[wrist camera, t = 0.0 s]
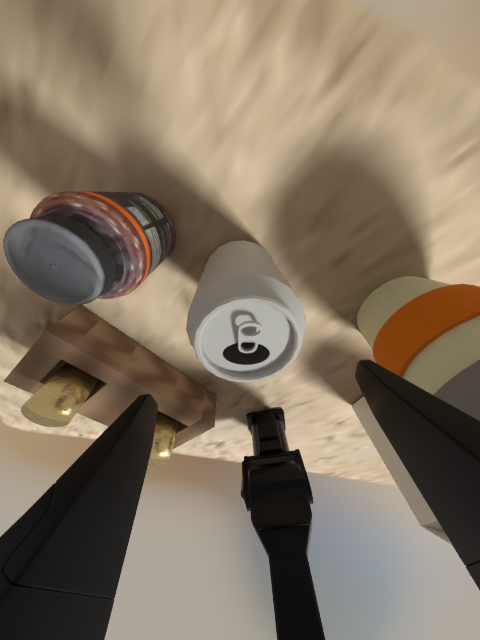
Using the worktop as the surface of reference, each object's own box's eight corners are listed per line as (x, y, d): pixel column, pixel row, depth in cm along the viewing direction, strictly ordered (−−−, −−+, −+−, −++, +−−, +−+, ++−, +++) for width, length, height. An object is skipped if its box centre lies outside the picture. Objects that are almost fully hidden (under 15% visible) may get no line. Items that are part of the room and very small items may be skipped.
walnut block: (216, 395, 32) (214, 426, 27) (175, 420, 35) (167, 451, 30) (81, 304, 22) (45, 330, 18) (41, 350, 25) (3, 381, 21)
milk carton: (379, 413, 36) (498, 585, 20) (350, 405, 35) (455, 586, 18) (411, 390, 33) (583, 573, 17) (380, 379, 31) (541, 573, 15)
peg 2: (185, 418, 28) (177, 457, 24) (166, 429, 29) (156, 468, 25) (162, 405, 26) (149, 445, 22) (144, 417, 28) (128, 457, 23)
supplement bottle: (107, 247, 19) (-18, 298, 9) (114, 178, 16) (-54, 152, 7) (168, 271, 21) (115, 336, 11) (184, 212, 18) (131, 230, 8)
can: (205, 304, 23) (185, 391, 13) (203, 235, 19) (172, 281, 9) (268, 307, 23) (298, 392, 13) (280, 241, 19) (334, 289, 9)
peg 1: (106, 375, 23) (78, 415, 19) (88, 390, 24) (58, 431, 20) (71, 356, 21) (32, 396, 17) (54, 373, 22) (13, 414, 18)
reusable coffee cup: (475, 273, 22) (805, 376, 9) (402, 355, 29) (540, 482, 16) (380, 246, 20) (638, 332, 7) (325, 341, 26) (412, 474, 14)
